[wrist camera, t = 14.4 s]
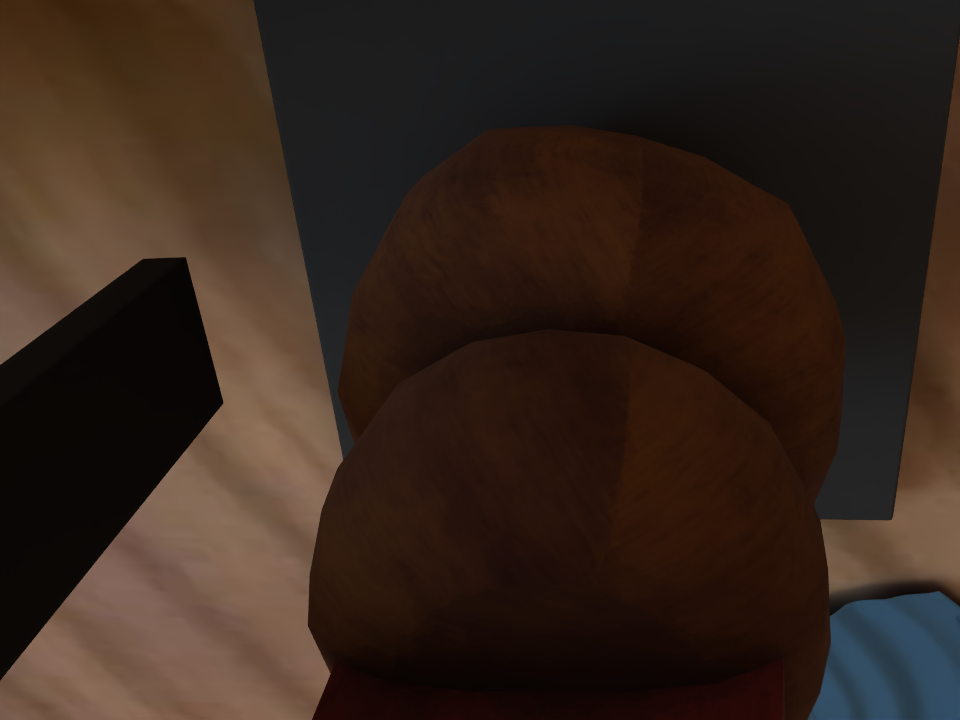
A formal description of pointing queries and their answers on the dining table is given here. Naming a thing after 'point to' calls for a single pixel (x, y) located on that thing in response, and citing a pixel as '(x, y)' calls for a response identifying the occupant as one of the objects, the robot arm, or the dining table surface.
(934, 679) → the blue ocean wave diorama
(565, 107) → the mat
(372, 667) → the wooden figurine
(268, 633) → the dining table surface
